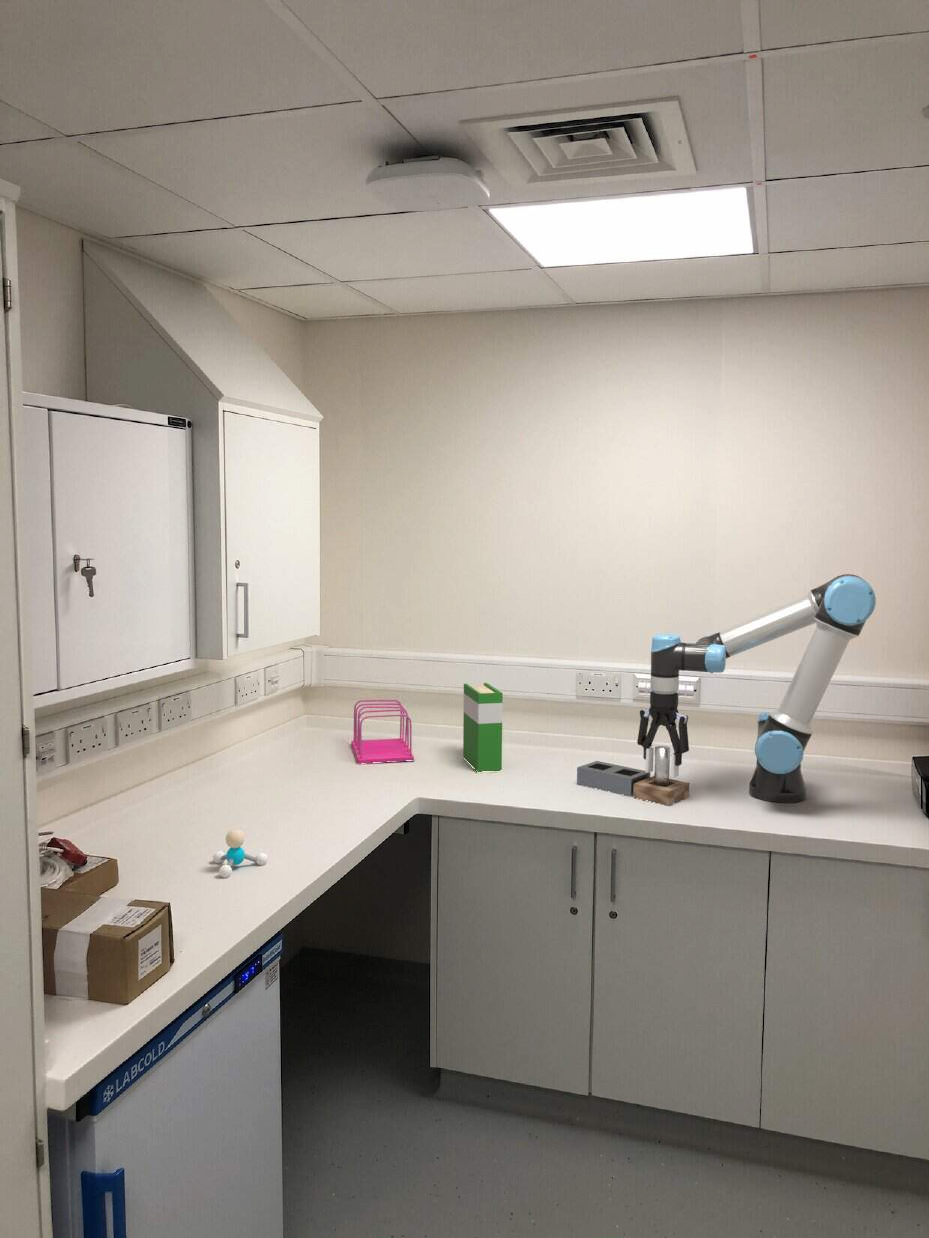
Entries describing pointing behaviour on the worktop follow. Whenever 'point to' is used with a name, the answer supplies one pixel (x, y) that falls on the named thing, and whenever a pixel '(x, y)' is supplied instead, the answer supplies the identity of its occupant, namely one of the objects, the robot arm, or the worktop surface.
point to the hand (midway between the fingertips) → (661, 774)
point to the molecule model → (236, 854)
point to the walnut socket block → (661, 791)
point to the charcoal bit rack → (610, 777)
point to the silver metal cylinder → (662, 766)
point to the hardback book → (483, 727)
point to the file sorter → (382, 747)
